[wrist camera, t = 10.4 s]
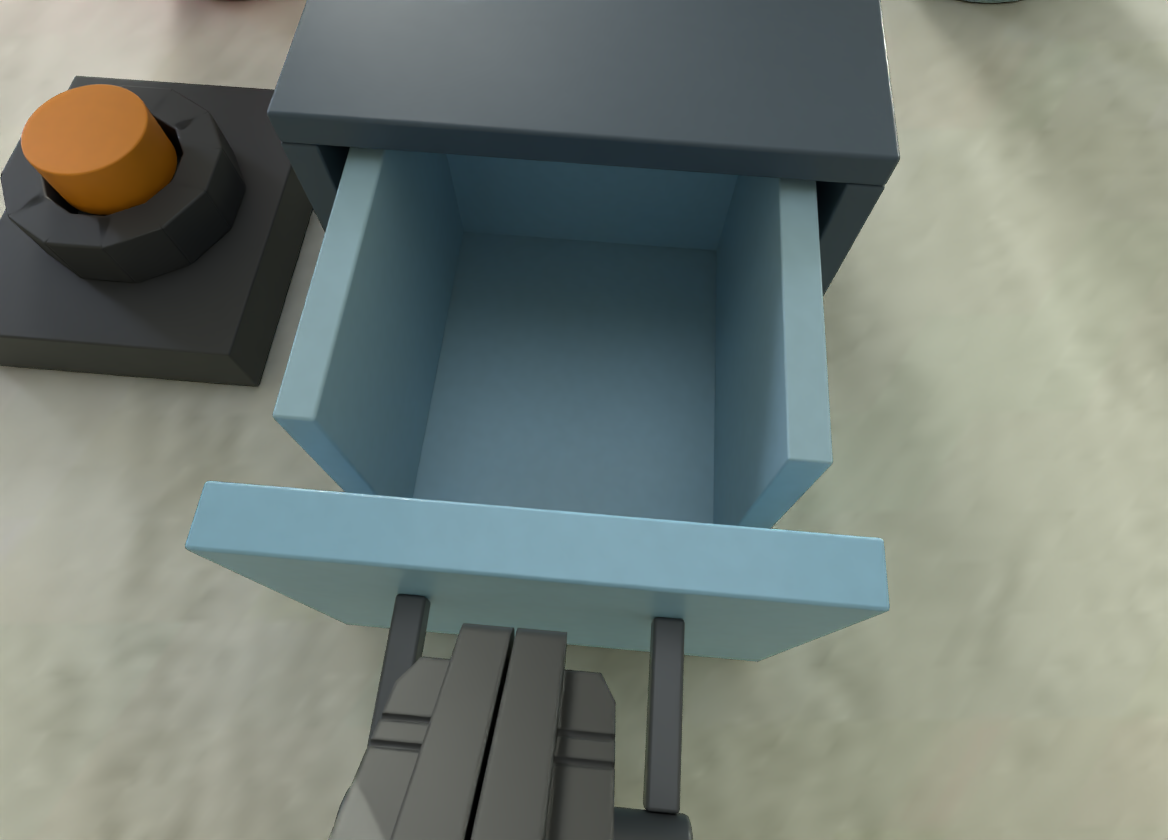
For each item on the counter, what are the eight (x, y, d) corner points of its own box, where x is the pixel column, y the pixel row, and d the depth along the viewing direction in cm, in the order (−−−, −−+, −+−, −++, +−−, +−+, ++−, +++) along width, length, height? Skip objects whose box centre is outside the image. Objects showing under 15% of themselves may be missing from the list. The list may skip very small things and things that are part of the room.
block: (-7, 365, 24) (-113, 298, 20) (110, 121, 28) (40, 30, 24) (259, 387, 23) (199, 323, 20) (334, 138, 28) (297, 48, 24)
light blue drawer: (762, 863, 17) (924, 978, 9) (303, 818, 18) (71, 892, 10) (753, 255, 25) (840, 24, 17) (429, 231, 25) (359, -8, 17)
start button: (41, 211, 22) (-1, 169, 20) (85, 124, 23) (48, 79, 22) (156, 220, 22) (123, 179, 20) (192, 132, 23) (164, 87, 21)
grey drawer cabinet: (767, 395, 23) (902, 159, 14) (391, 365, 24) (264, 113, 14) (760, 80, 29) (851, -243, 20) (459, 59, 30) (402, -268, 20)
